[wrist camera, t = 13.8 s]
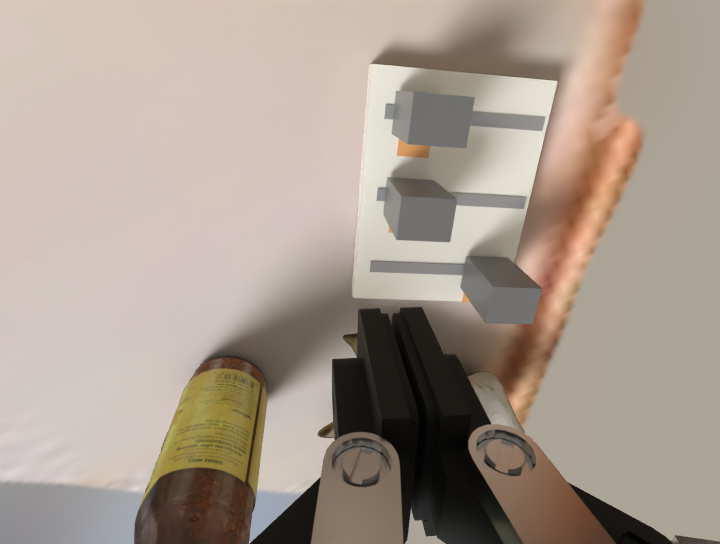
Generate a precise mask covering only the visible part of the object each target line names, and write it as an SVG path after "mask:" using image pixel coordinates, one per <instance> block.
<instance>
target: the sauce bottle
mask: <svg viewBox="0 0 720 544" xmlns="http://www.w3.org/2000/svg"><path fill="white" fill-rule="evenodd" d="M266 407H267V394H266V385H265V380H264V378H263V376H262V374H261V372H260V371H259V370H258V369H257V368H256V367H255V366H254V365H252V364H250V363H248V362H245V361H244V360H242V359H239V358H234V357H232V358H230V357H221V358H216V359H213V360H211V361H208V362H206V363H204V364H202V365H201V366H200V367H199V368H198V369H197V370H196V371H195V373H194V375H193V376H192V378H191V379H190V381H189V383H188V384H187V386H186V387H185V389H184V391H183V394H182V396H181V399H180V402H179V405H178V407H177V410H176V412H175V415H174V418H173V420H172V423H171V426H170V428H169V431H168V433H167V436H166V438H165V440H164V443H163V446H162V448H161V453H160V455H159V458H158V460H157V462H156V465H155V468H154V470H153V473H152V476H151V479H150V481H149V484H148V486H147V488H146V491H145V495H144V497H143V500H142V502H141V505H140V508H139V511H138V513H137V517H136V521H135V533H134V544H249V536H250V527H251V519H252V512H253V510H254V507H255V501H256V493H257V484H258V475H259V467H260V458H261V449H262V441H263V433H264V424H265V416H266Z"/></svg>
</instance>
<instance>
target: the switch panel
mask: <svg viewBox="0 0 720 544" xmlns="http://www.w3.org/2000/svg"><path fill="white" fill-rule="evenodd" d="M557 82H558V81H552V80H541V79H530V78H519V77H509V76H498V75H487V74H477V73H466V72H455V71H444V70H434V69H423V68H412V67H402V66H391V65H380V64H370V65H369V73H368V86H367V99H366V111H365V124H364V137H363V149H362V162H361V175H360V187H359V200H358V213H357V226H356V238H355V251H354V264H353V276H352V295H353V298H368V299H402V300H437V301H462V302H470V301H469V299H468V298H467V296H466V295H465V294H464V292H463V291H462V289H461V288H460V285H461V280H462V275H463V269H464V264H465V259H466V256H484V257H508V258H509V259H510V260H511V261H512V262H513V263H515V259H516V254H517V250H518V246H519V242H520V238H521V233H522V229H523V225H524V221H525V217H526V212H527V208H528V204H529V200H530V196H531V191H532V187H533V183H534V179H535V175H536V170H537V166H538V162H539V158H540V153H541V149H542V145H543V141H544V137H545V132H546V128H547V124H548V120H549V116H550V111H551V107H552V103H553V99H554V95H555V90H556V86H557ZM396 91H409V92H422V93H434V94H445V95H457V96H468V97H475V100H474V106H473V111H472V117H471V123H470V129H469V135H468V141H467V147H466V148H452V147H438V146H424V145H411V144H406V143H405V142H403V141H402V140H400V139H399V138H397V137H396V136H394V135H393V134H392V125H393V115H394V105H395V96H396ZM387 177H391V178H407V179H423V180H434V181H435V182H437V183H438V184H439V185H440V186H442V187H443V188H444V189H445V190H447V191H448V192H449V193H450V194H451V195H453V196H454V197H455V198H456V199H457V205H456V211H455V217H454V223H453V229H452V234H451V240H450V242H430V241H408V240H396V238H395V236H394V234H393V233H392V231H391V229H390V227H389V225H388V223H387V221H386V219H385V217H384V215H383V212H384V202H385V192H386V183H387Z"/></svg>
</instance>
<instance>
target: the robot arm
mask: <svg viewBox="0 0 720 544" xmlns="http://www.w3.org/2000/svg"><path fill="white" fill-rule="evenodd" d="M332 403H333V423H334V439H335V441H333V442H332V444H331V445H330V446H329V447H328V449H327V450H326V453H325V456H324V459H323V466H322V473H321V477H320V478H319V479H318V480H317V481H316V482H315V483H314V484H313V485H312V486H311V487H310V488H309V489H307V490H306V491H305V492H304V493H303V494H302V495H301V496H300V497H299V498H298V499H297V500H296V501H295V502H294V503H293V504H292V505H290V506H289V507H288V508H287V509H286V510H285V511H284V512H283V513H282V514H281V515H280V516H279V517H278V518H277V519H276V520H274V521H273V522H272V523H271V524H270V525H269V526H268V527H267V528H266V529H265V530H264V531H263V532H262V533H261V534H260V535H259V536H257V537H256V538H255V539H254V540H253V541H252V542H251V543H250V544H405V542H406V541H407V537H408V528H409V519H410V511H411V509H412V513H413V517H414V519H415V520H422V521H423V526H424V530H425V534H426V536H435V535H437V538H439V539H440V540H441V541H443V542H444V543H446V544H720V542H718V541H712V540H705V539H698V538H690V537H684V536H676V535H675V536H674V538H673V540H672V541H670V540H668V538H666V537H665V536H664V535H662V534H661V533H659V532H657V531H656V530H655V529H653V528H652V527H650V526H648V525H646V524H644V523H642V522H640V521H639V520H637V519H635V518H633V517H631V516H629V515H627V514H626V513H624V512H622V511H620V510H618V509H616V508H614V507H612V506H611V505H609V504H607V503H605V502H603V501H601V500H600V499H598V498H596V497H594V496H592V495H590V494H588V493H586V492H584V491H583V490H581V489H579V488H577V487H575V486H573V485H572V484H570V483H568V482H567V481H566V480H565V479H564V477H563V476H562V475H561V474H560V472H559V471H558V470H557V469H556V467H555V466H554V465H553V464H552V462H551V461H550V460H549V459H548V457H547V456H546V455H545V454H544V452H543V451H542V450H541V449H540V447H539V446H538V445H537V444H536V443H535V442H534V441H533V440H532V439H531V438H530V437H529V436H527V435H526V434H524V433H523V432H521V431H520V430H517V429H515V428H512V427H510V426H505V425H500V424H491V422H490V420H489V418H488V416H487V414H486V412H485V410H484V408H483V406H482V404H481V402H480V400H479V398H478V396H477V394H476V392H475V390H474V388H473V386H472V384H471V382H470V380H469V379H468V377H467V375H466V373H465V371H464V369H463V367H462V365H461V363H460V361H459V359H458V357H457V356H456V355H454V354H446V355H444V354H443V352H442V350H441V347H440V345H439V343H438V341H437V339H436V337H435V335H434V332H433V330H432V328H431V326H430V324H429V322H428V320H427V317H426V315H425V313H424V311H423V309H422V307H412V308H400V311H399V313H393V315H392V326H391V323H390V319H389V316H388V314H381V311H380V309H379V308H377V309H359V310H358V334H357V358H347V359H332Z"/></svg>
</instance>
